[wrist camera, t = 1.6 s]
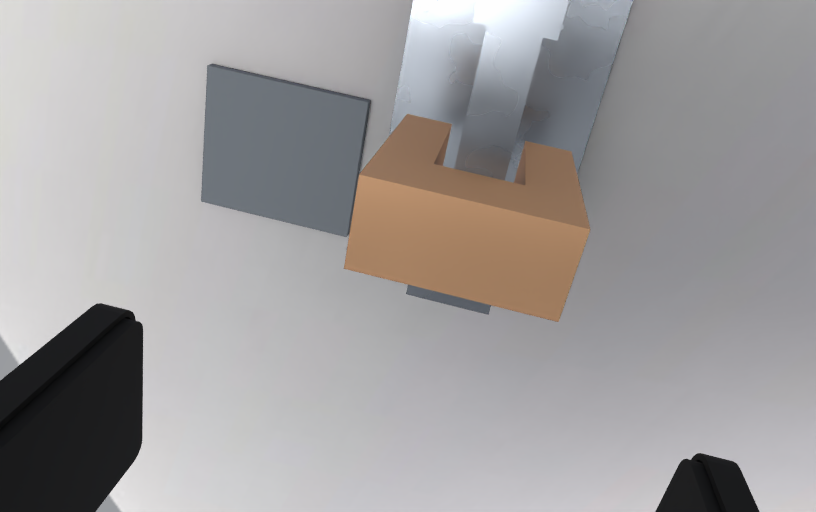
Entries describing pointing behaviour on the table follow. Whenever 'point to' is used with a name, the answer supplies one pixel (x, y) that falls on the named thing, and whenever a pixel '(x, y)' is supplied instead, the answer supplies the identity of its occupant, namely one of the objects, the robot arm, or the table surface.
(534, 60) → the stand
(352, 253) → the c link
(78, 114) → the table surface
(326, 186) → the mat
